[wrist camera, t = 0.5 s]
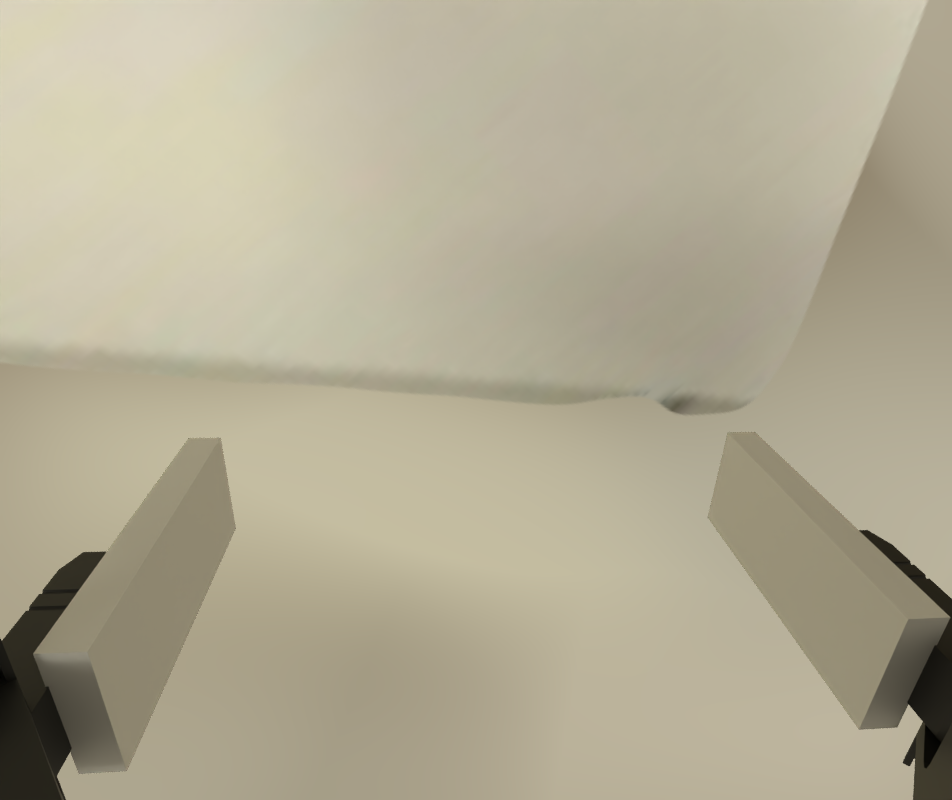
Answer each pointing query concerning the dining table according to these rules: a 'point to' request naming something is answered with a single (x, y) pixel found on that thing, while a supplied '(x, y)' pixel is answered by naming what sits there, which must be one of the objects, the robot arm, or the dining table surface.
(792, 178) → the dining table surface
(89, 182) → the dining table surface
